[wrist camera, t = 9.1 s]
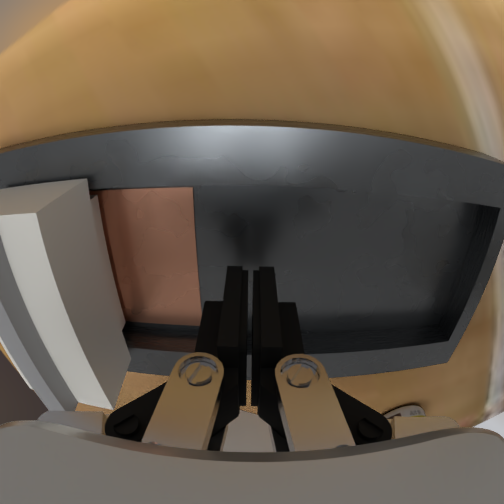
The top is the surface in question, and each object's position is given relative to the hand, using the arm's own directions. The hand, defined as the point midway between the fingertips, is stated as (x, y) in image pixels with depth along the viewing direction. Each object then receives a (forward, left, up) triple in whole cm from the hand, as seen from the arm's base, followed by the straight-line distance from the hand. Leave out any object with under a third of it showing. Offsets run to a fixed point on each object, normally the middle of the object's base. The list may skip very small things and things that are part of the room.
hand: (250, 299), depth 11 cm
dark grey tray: (+1, 0, -4) cm, 4 cm away
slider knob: (+8, 0, -2) cm, 9 cm away
